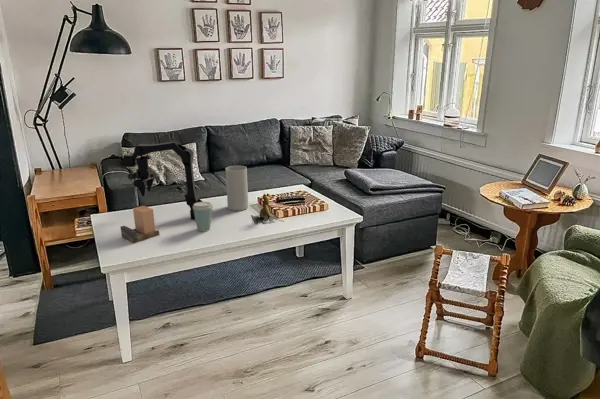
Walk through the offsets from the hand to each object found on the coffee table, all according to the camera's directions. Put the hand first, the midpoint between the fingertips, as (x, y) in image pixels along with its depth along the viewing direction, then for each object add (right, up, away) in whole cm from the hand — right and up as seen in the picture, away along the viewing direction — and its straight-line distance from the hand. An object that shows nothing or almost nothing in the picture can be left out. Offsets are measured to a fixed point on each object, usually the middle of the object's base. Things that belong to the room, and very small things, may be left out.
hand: (146, 193), depth 255 cm
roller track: (+4, -22, -21) cm, 31 cm away
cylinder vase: (+49, -9, +20) cm, 54 cm away
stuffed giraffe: (+68, -14, +4) cm, 70 cm away
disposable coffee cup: (+36, -20, -13) cm, 43 cm away
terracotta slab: (+6, -19, -20) cm, 28 cm away
